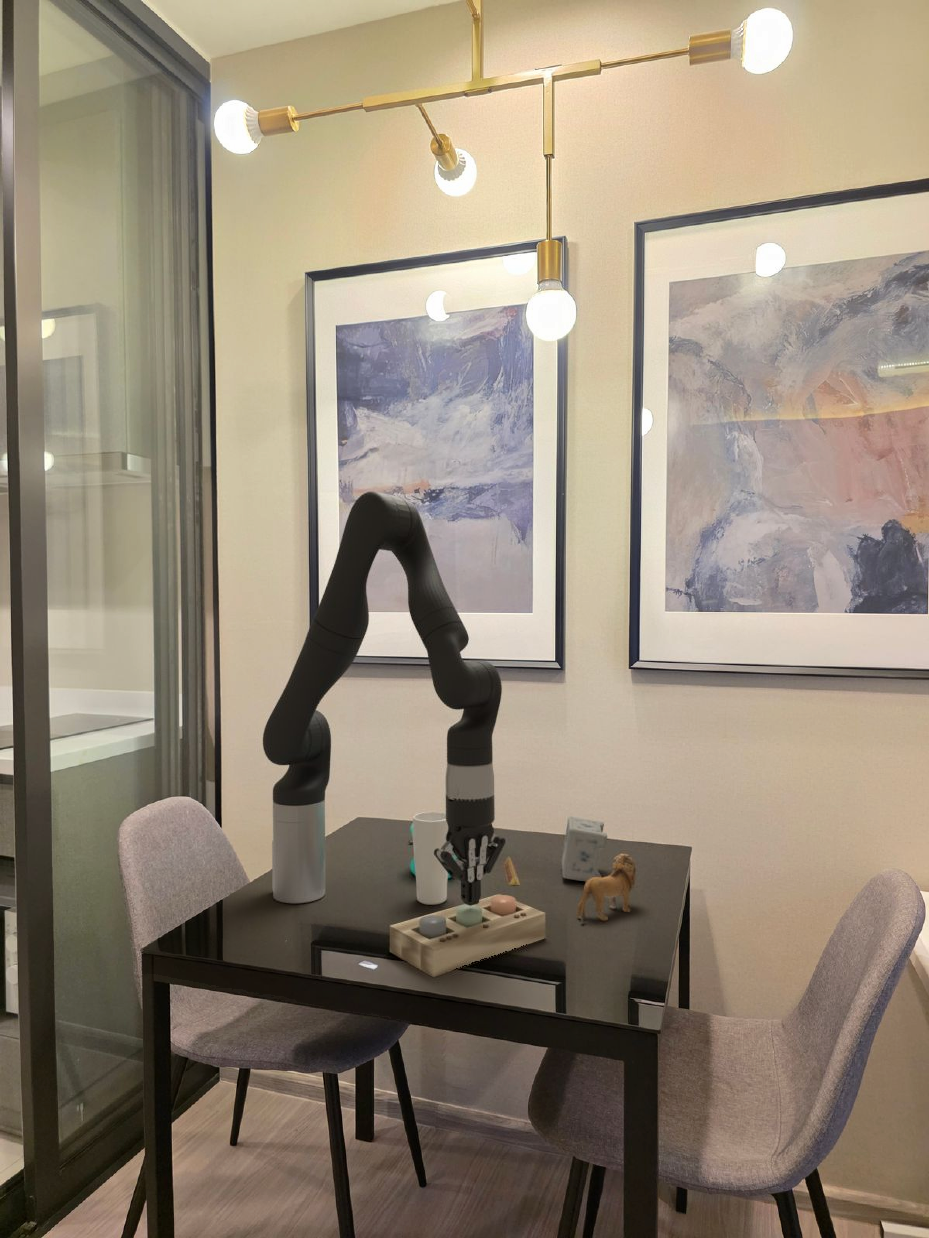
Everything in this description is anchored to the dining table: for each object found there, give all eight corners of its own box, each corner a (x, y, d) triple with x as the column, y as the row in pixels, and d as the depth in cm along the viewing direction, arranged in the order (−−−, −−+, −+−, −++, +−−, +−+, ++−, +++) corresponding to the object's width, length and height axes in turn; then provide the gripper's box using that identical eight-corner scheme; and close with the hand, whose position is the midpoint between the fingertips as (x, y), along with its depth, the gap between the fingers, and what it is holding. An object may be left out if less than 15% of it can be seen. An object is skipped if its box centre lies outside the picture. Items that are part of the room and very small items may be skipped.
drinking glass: (417, 909, 147) (417, 822, 146) (409, 895, 153) (409, 812, 153) (455, 905, 148) (455, 819, 148) (445, 892, 155) (445, 810, 154)
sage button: (450, 927, 132) (450, 908, 132) (470, 921, 134) (470, 902, 134) (467, 935, 129) (467, 916, 129) (487, 929, 131) (487, 910, 131)
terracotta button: (485, 917, 136) (485, 898, 136) (504, 911, 139) (504, 893, 139) (502, 924, 133) (502, 905, 133) (520, 918, 136) (520, 900, 136)
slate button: (414, 939, 127) (414, 919, 127) (435, 932, 130) (435, 913, 130) (430, 947, 124) (430, 927, 124) (451, 940, 127) (451, 921, 127)
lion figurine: (616, 898, 152) (617, 848, 152) (643, 905, 148) (643, 854, 148) (568, 921, 141) (569, 867, 141) (595, 930, 138) (596, 874, 137)
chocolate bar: (507, 887, 159) (507, 875, 159) (502, 866, 171) (502, 855, 171) (521, 886, 159) (521, 875, 159) (515, 866, 171) (515, 855, 171)
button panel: (389, 951, 129) (389, 924, 129) (499, 917, 143) (499, 892, 143) (433, 977, 120) (433, 947, 120) (545, 938, 134) (545, 911, 134)
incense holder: (607, 885, 159) (607, 830, 159) (562, 884, 160) (562, 829, 159) (603, 868, 169) (603, 816, 168) (561, 867, 169) (561, 815, 169)
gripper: (486, 781, 138) (487, 887, 138) (420, 793, 130) (421, 906, 130) (518, 789, 132) (519, 900, 133) (451, 802, 124) (452, 920, 124)
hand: (470, 903), depth 131 cm, fingers closed
